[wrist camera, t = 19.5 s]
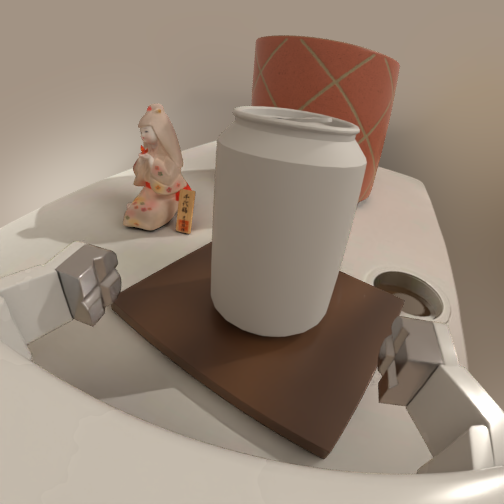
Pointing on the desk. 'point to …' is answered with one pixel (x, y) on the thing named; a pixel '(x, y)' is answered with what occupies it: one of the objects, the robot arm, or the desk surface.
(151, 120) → the figurine
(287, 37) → the planter
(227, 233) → the can
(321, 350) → the board
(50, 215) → the desk surface
